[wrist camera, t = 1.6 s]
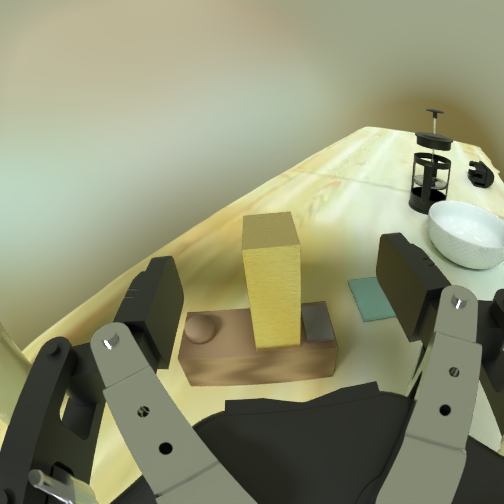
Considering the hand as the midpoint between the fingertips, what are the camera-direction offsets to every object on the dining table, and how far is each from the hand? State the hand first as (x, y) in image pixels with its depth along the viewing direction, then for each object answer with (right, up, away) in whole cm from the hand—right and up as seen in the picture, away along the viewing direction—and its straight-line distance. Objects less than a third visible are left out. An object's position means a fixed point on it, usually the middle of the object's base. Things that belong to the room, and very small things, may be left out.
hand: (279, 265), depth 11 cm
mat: (+17, -6, +26) cm, 31 cm away
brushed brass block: (+1, -7, +17) cm, 19 cm away
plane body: (0, -11, +20) cm, 23 cm away
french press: (+39, +11, +48) cm, 63 cm away
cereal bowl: (+37, 0, +31) cm, 48 cm away
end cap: (+73, +23, +61) cm, 98 cm away
